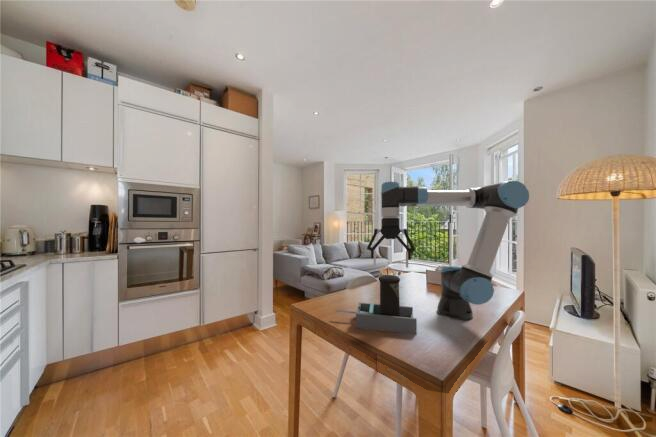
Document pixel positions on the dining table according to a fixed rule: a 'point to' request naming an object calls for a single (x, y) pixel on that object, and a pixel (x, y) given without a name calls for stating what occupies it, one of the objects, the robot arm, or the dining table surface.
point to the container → (389, 295)
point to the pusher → (360, 312)
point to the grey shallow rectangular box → (386, 320)
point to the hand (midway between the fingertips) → (390, 266)
